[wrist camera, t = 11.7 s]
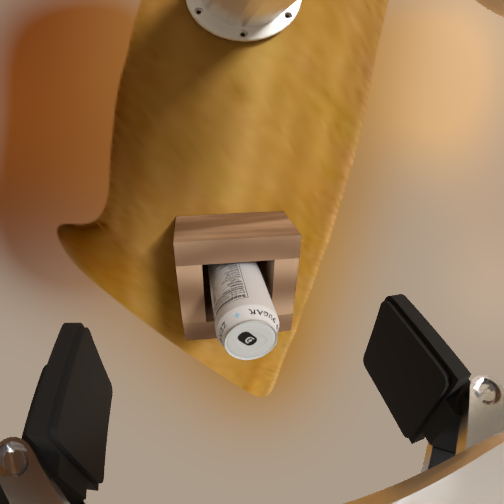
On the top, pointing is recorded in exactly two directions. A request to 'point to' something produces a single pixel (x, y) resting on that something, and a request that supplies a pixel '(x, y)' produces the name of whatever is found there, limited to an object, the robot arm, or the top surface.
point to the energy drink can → (242, 310)
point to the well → (234, 261)
